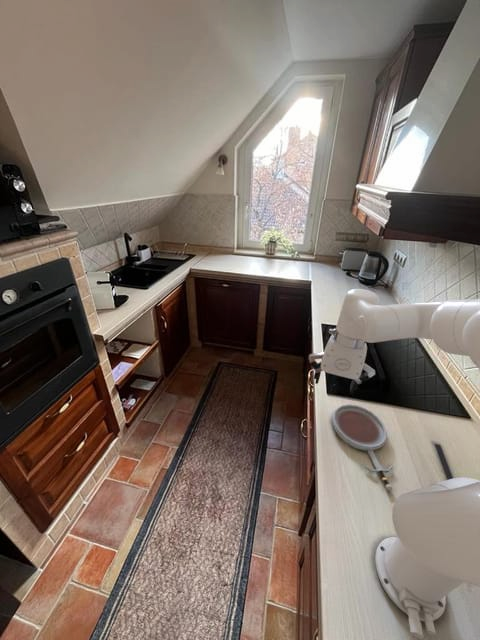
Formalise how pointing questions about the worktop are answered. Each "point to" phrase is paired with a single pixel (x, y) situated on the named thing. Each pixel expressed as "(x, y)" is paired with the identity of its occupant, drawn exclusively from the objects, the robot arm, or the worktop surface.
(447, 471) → the strip
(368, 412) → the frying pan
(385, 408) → the worktop surface
